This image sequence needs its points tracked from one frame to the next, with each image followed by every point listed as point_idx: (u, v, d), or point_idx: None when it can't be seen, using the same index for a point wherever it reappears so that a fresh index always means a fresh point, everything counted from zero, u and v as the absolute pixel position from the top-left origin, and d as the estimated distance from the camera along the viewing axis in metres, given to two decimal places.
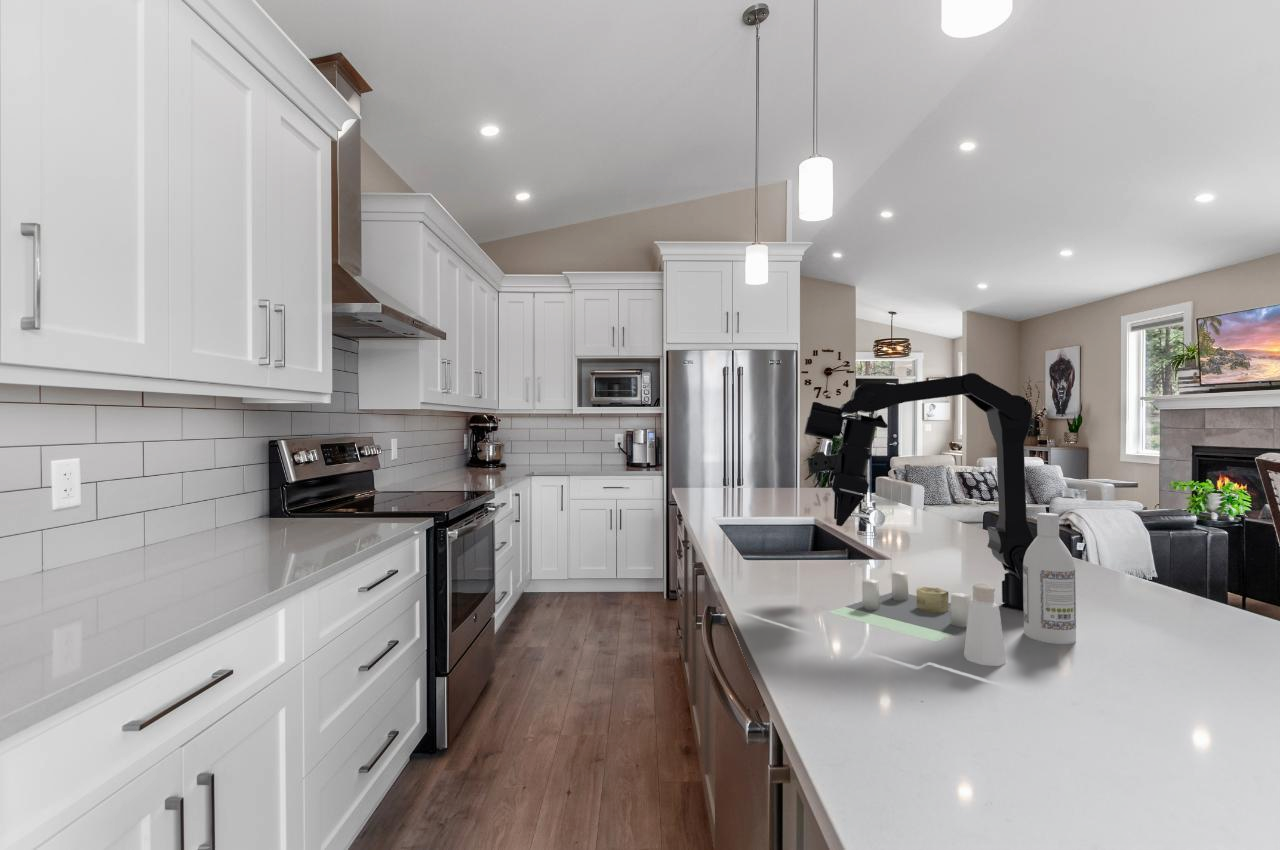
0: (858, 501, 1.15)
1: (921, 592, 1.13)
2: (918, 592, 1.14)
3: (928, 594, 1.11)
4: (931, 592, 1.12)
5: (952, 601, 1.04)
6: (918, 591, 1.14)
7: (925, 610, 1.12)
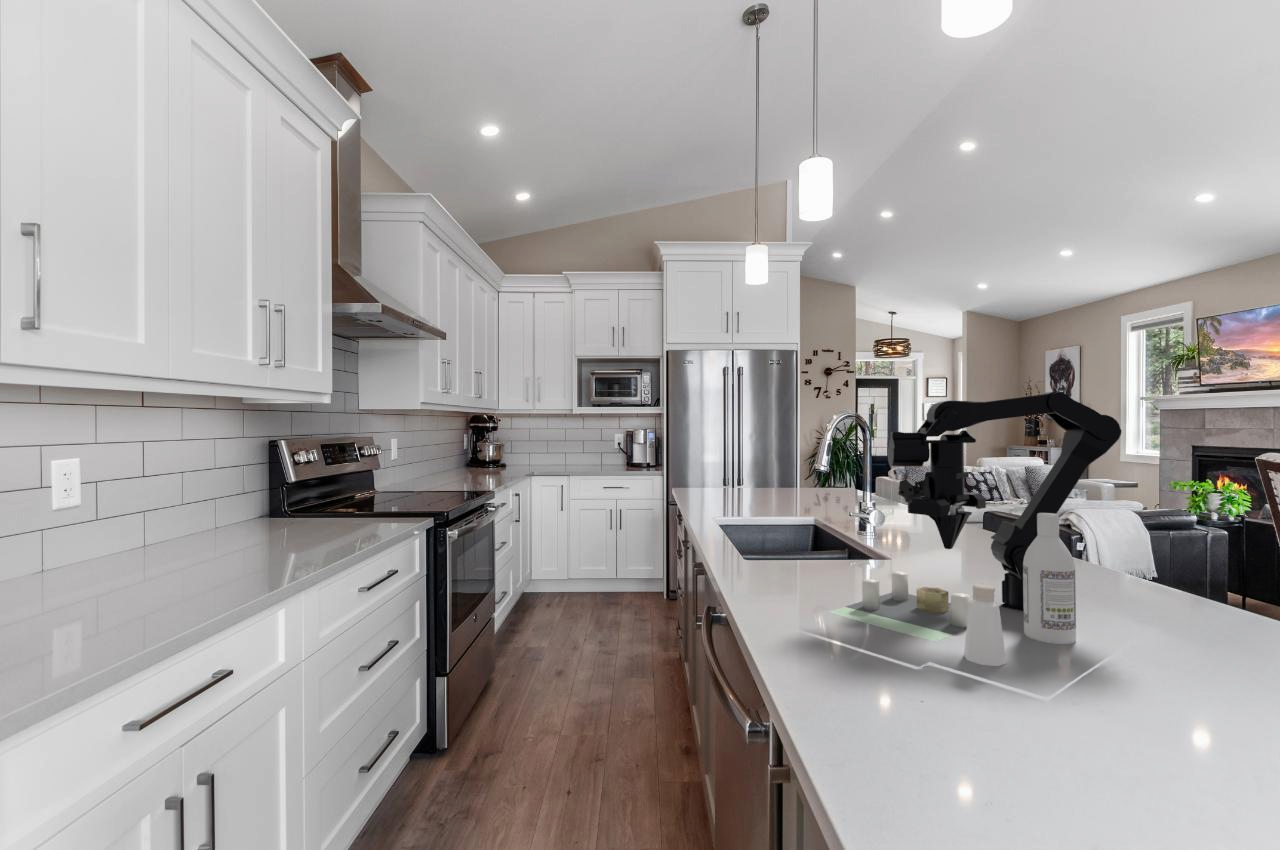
0: (953, 521, 1.14)
1: (921, 592, 1.13)
2: (918, 592, 1.14)
3: (928, 594, 1.11)
4: (931, 592, 1.12)
5: (952, 601, 1.04)
6: (918, 591, 1.14)
7: (925, 610, 1.12)
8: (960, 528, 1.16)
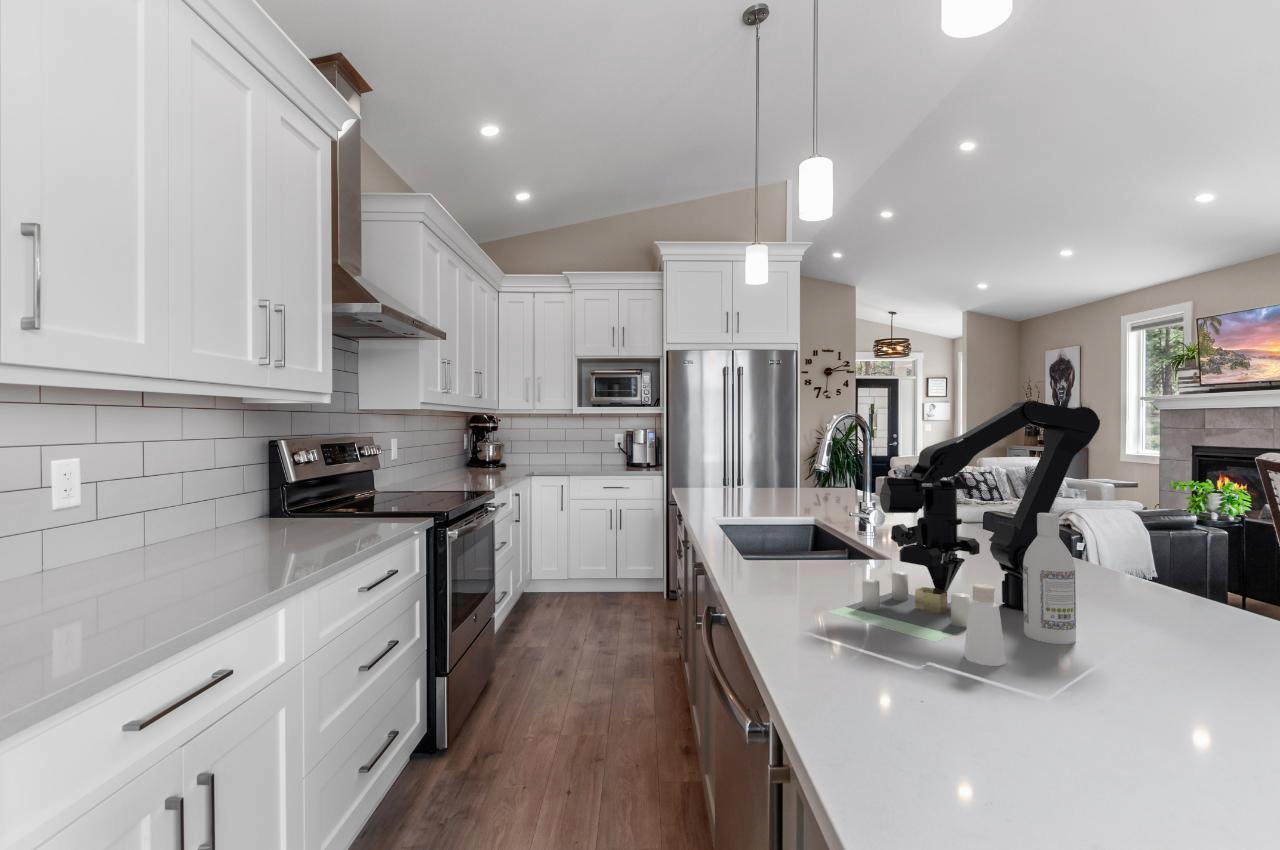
0: (946, 569, 1.12)
1: (920, 592, 1.12)
2: (917, 592, 1.13)
3: (927, 594, 1.11)
4: (930, 592, 1.11)
5: (952, 601, 1.04)
6: (917, 591, 1.13)
7: (924, 610, 1.11)
8: (953, 576, 1.14)
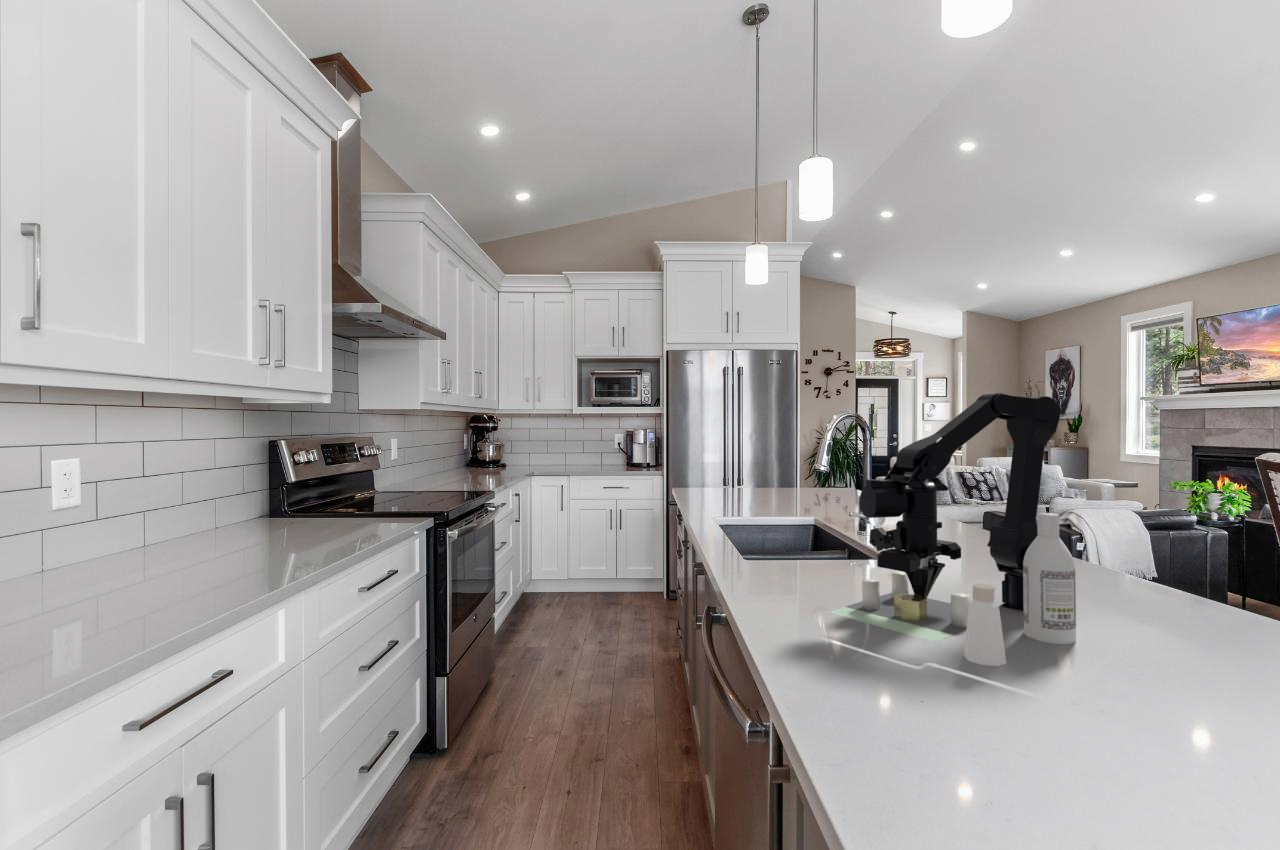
0: (925, 575, 1.08)
1: (898, 599, 1.08)
2: (895, 599, 1.09)
3: (905, 601, 1.07)
4: (909, 599, 1.07)
5: (952, 601, 1.04)
6: (895, 598, 1.09)
7: (902, 618, 1.07)
8: (933, 581, 1.10)
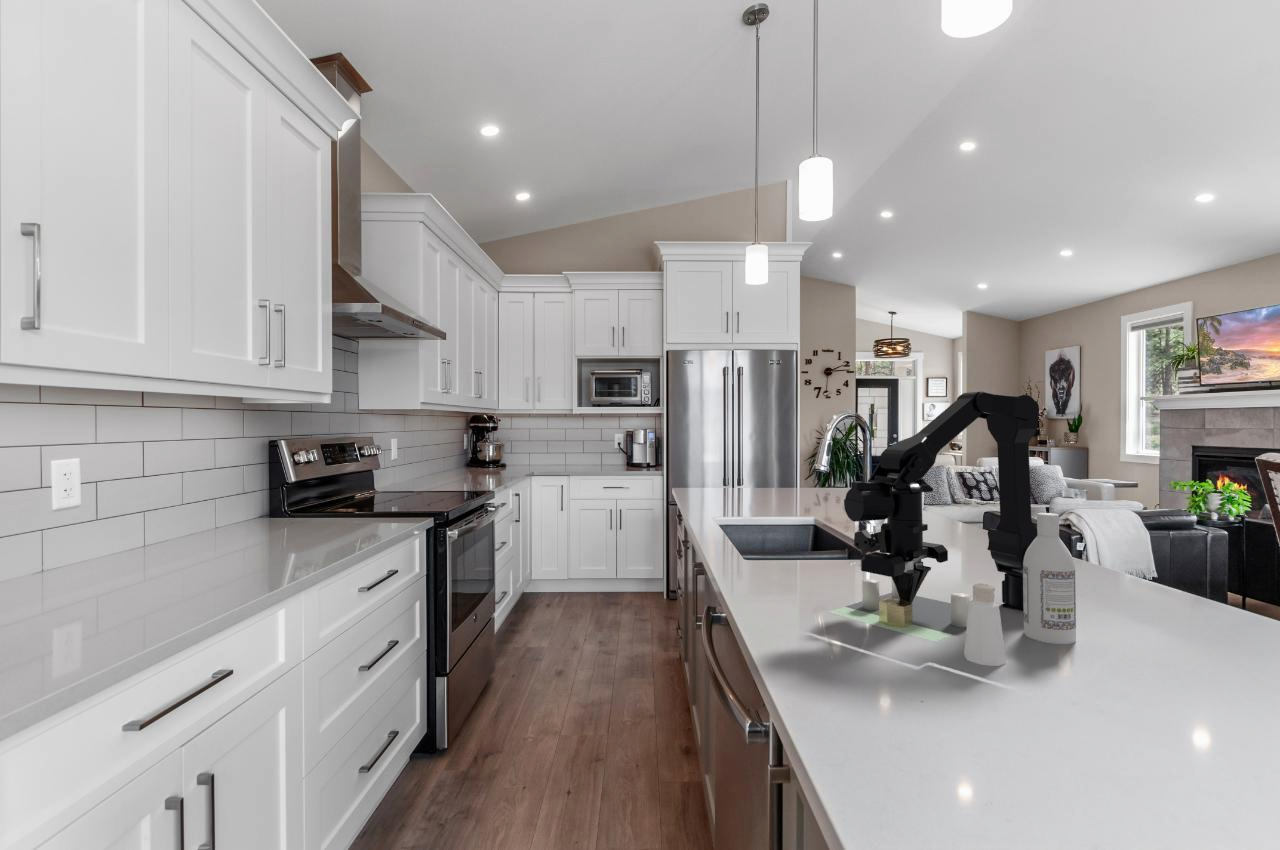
0: (911, 579, 1.05)
1: (883, 604, 1.05)
2: (880, 604, 1.06)
3: (890, 607, 1.04)
4: (894, 604, 1.04)
5: (952, 601, 1.04)
6: (880, 603, 1.06)
7: (887, 624, 1.04)
8: (918, 585, 1.07)
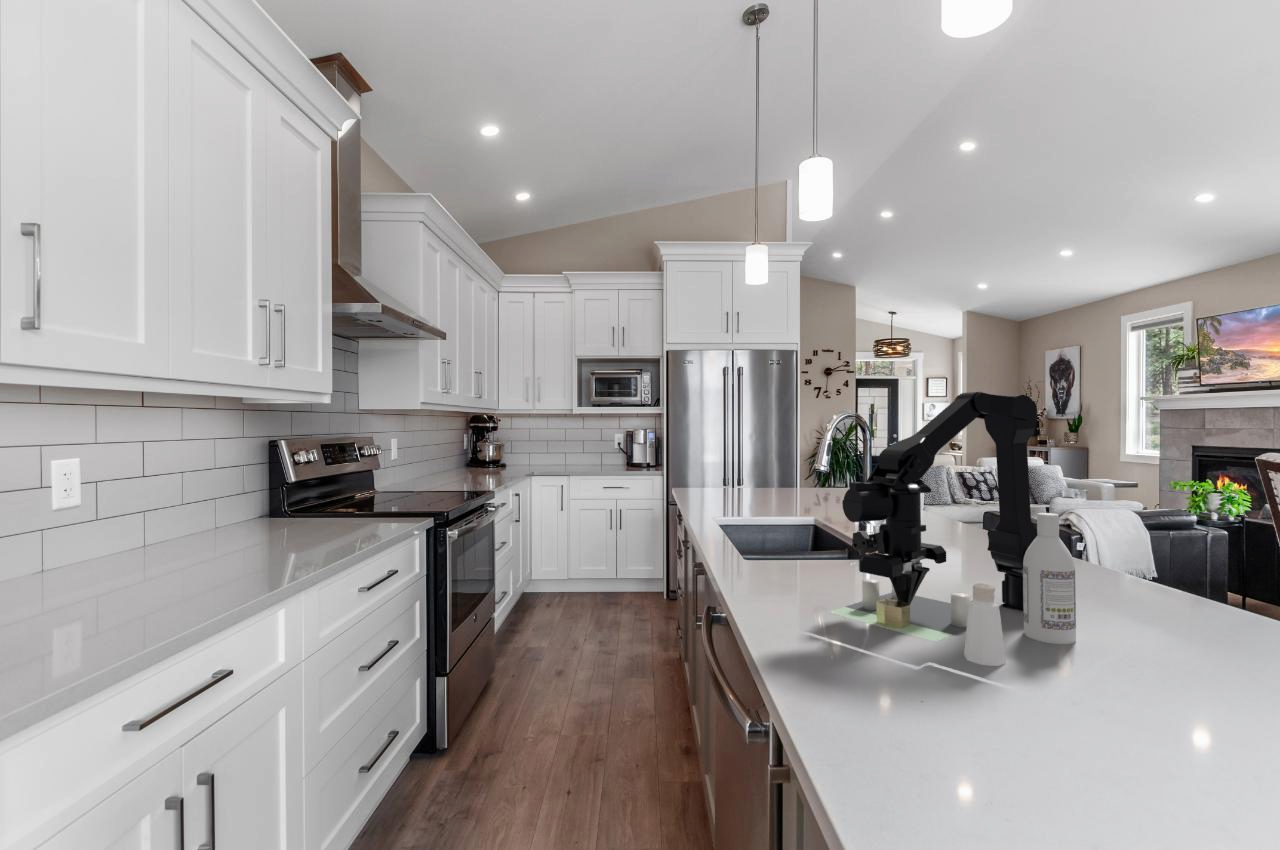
0: (909, 580, 1.04)
1: (881, 605, 1.05)
2: (878, 605, 1.05)
3: (888, 608, 1.03)
4: (891, 605, 1.04)
5: (952, 601, 1.04)
6: (878, 604, 1.05)
7: (885, 625, 1.03)
8: (917, 586, 1.06)
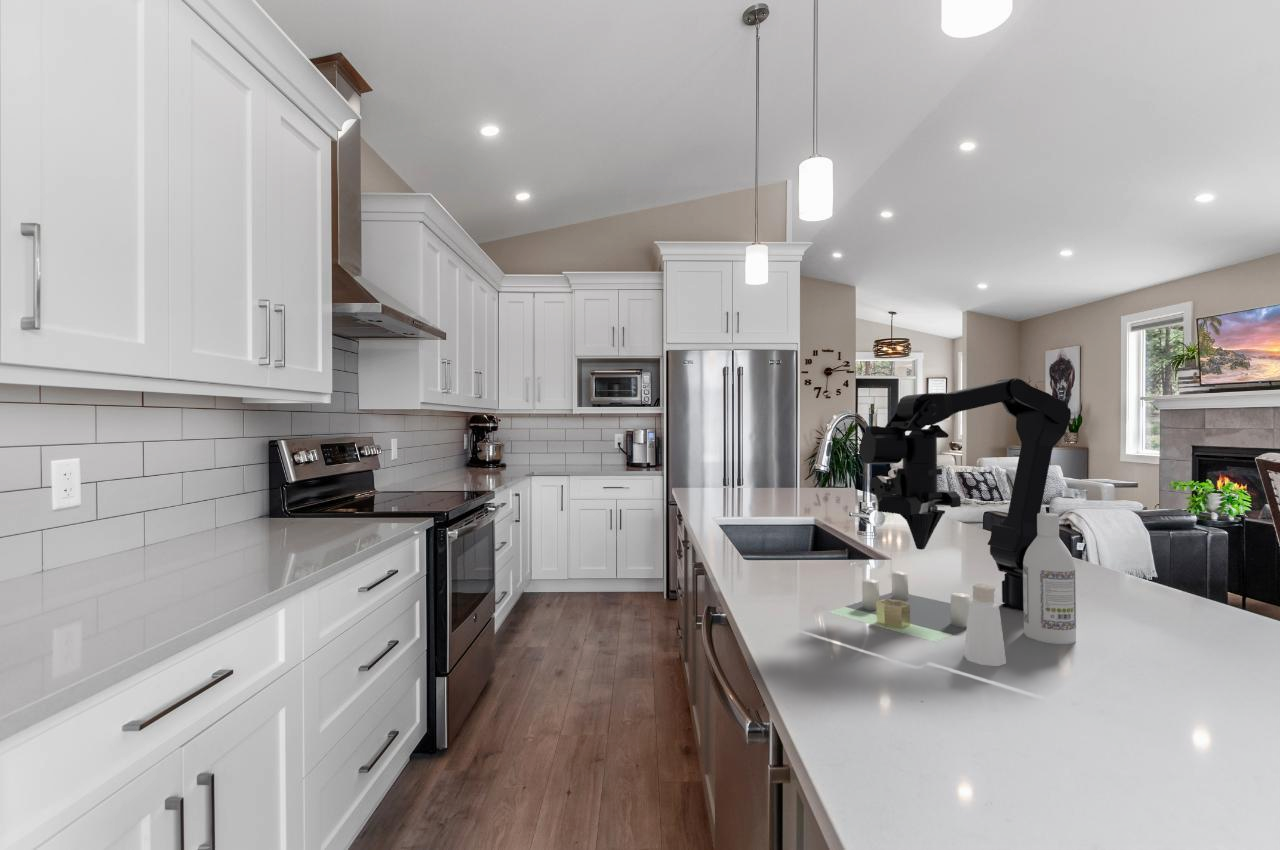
0: (925, 520, 1.08)
1: (881, 605, 1.05)
2: (878, 605, 1.05)
3: (888, 608, 1.03)
4: (891, 605, 1.04)
5: (952, 601, 1.04)
6: (878, 604, 1.05)
7: (885, 625, 1.03)
8: (933, 527, 1.10)
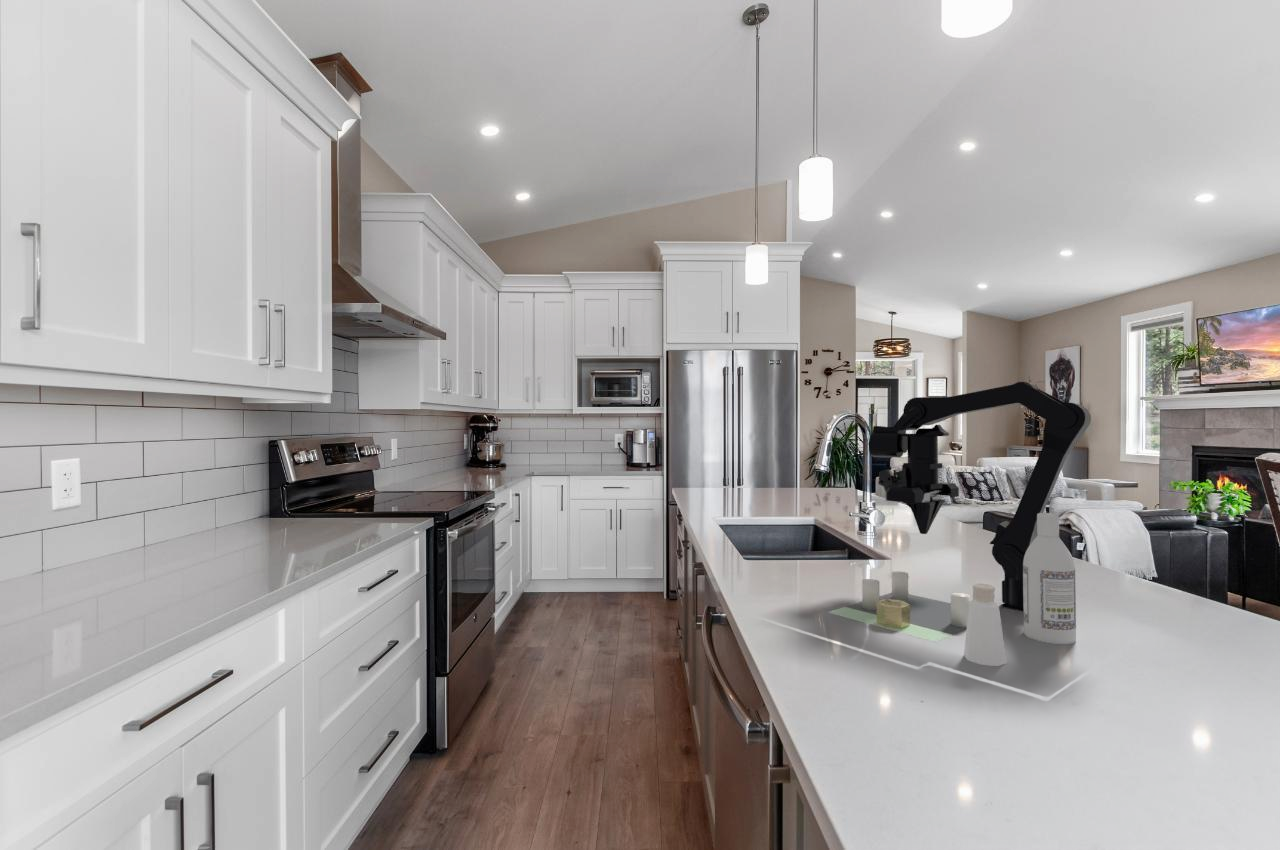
0: (928, 508, 1.24)
1: (881, 605, 1.05)
2: (878, 605, 1.05)
3: (888, 608, 1.03)
4: (891, 605, 1.04)
5: (952, 601, 1.04)
6: (878, 604, 1.05)
7: (885, 625, 1.03)
8: (934, 515, 1.26)
